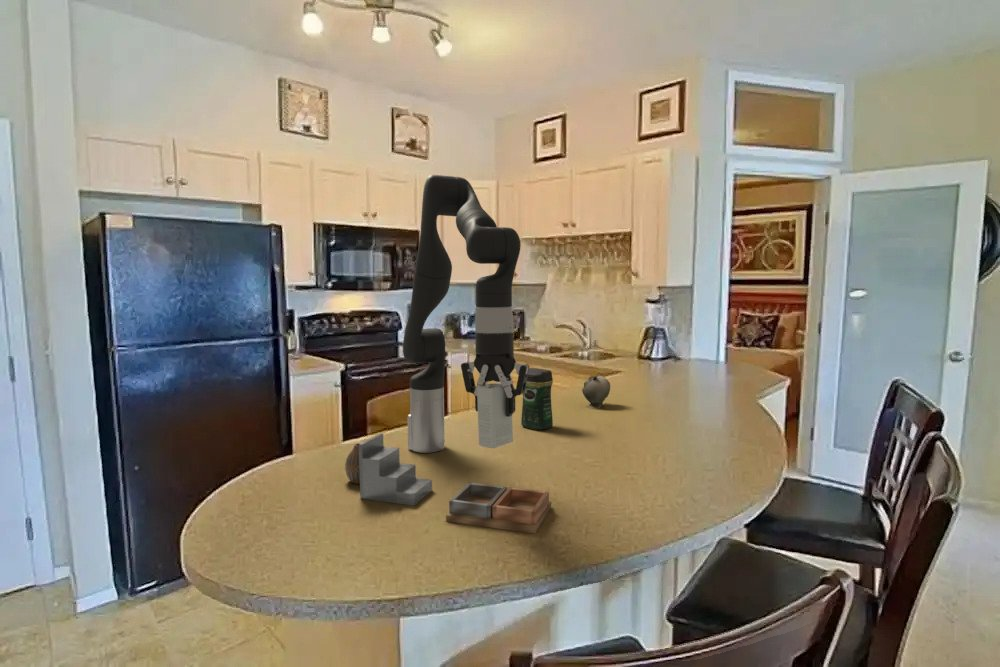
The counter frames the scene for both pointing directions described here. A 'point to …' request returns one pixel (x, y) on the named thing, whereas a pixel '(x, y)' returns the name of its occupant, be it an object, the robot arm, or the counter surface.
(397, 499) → the gray stair step block
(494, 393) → the skincare box
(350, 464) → the vase
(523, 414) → the coffee jar
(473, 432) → the counter surface
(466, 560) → the counter surface
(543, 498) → the divided tray
